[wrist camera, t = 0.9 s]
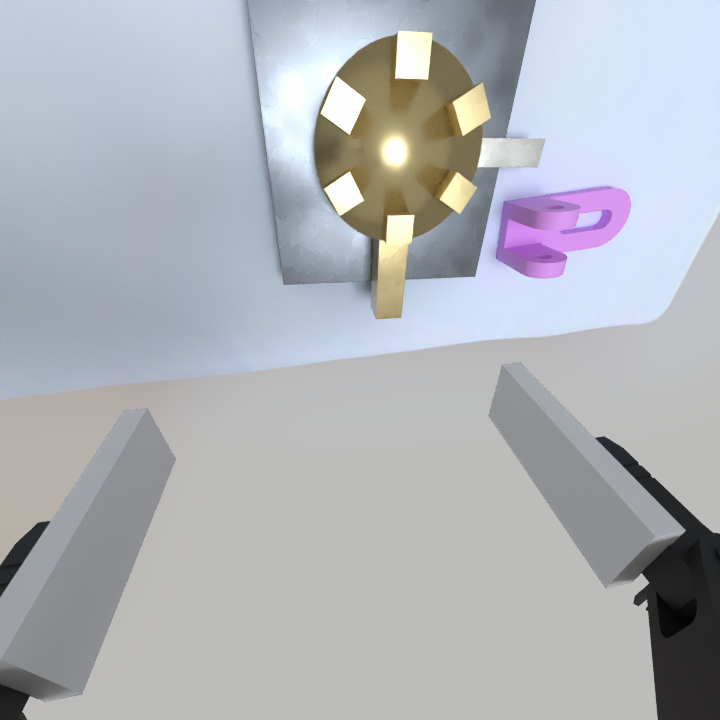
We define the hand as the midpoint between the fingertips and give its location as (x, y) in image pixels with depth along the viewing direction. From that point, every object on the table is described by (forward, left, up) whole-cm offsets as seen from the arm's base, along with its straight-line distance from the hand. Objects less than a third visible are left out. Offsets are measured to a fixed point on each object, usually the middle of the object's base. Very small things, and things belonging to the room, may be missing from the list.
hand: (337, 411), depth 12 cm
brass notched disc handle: (+6, +5, -20) cm, 21 cm away
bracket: (+25, +2, -23) cm, 34 cm away
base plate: (+8, +8, -23) cm, 25 cm away
